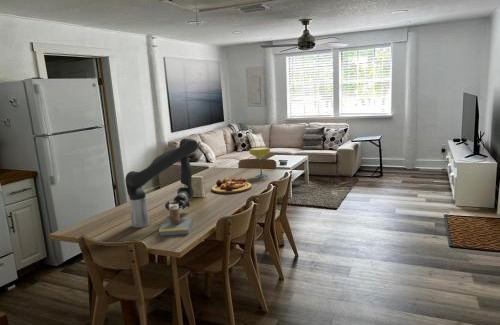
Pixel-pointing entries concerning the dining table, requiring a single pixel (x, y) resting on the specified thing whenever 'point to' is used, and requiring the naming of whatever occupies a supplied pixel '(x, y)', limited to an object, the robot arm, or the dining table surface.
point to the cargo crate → (174, 214)
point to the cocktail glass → (259, 155)
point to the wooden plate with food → (231, 186)
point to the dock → (175, 227)
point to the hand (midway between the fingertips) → (175, 208)
